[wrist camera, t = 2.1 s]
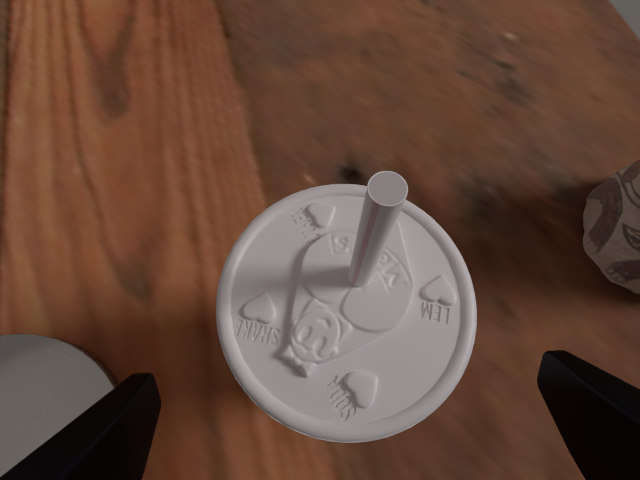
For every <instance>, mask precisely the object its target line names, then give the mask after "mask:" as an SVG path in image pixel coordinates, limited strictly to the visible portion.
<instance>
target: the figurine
mask: <svg viewBox="0 0 640 480" xmlns="http://www.w3.org/2000/svg"><path fill="white" fill-rule="evenodd" d="M583 227H584V231H585V232H584V235H583V246H584V251H585V252H586V254H587V255H588V256H589V257H590V258H591V259H592V260H593V261H594V262H595V263H596V265H597V266H598V267H599V268H600V270H601V272H602V273H603V274H604V275H605V276H606V277H607V279H608V280H609V281H610V282H613V283H615V284H618V285H620V286H623V287H625V288H627V289H629V290H631V291H632V292H634V293H637V294H640V160H638V161H636V162H634V163H632V164H630V165H629V166H627V167H625V168H623V169H621V170H620V171H618V172H617V173H615V174H613V175H612V176H610V177H609V178H608V179H606V180H605V181H603V182H602V183H600V184H599V185H598V186H597V187H596V188H595V189H594V190H592V192H591V193H590V195H589V196H588V197H587V199H586V206H585V209H584V212H583Z"/></svg>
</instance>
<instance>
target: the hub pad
mask: <svg viewBox="0 0 640 480" xmlns="http://www.w3.org/2000/svg"><path fill="white" fill-rule="evenodd" d="M118 385H119V384H118V382H117V380H116V379H115V377H114V376H113V374H112V373H111V372H110V371H109V370H108V369H107V367H106V366H105V365H104V364H103V363H102V362H101V361H100V360H98V359H97V358H96V357H95V356H93V355H92V354H91V353H89V352H88V351H86V350H84V349H82V348H81V347H79V346H77V345H74V344H72V343H69V342H66V341H63V340H59V339H54V338H50V337H45V336H40V335H29V334H13V335H2V336H0V477H1V476H2V475H3V474H5V473H6V472H7V471H9V470H10V469H11V468H12V467H14V466H15V465H16V464H18V463H19V462H20V461H21V460H23V459H24V458H25V457H27V456H28V455H29V454H30V453H32V452H33V451H34V450H36V449H37V448H38V447H39V446H41V445H42V444H43V443H45V442H46V441H47V440H48V439H50V438H51V437H52V436H54V435H55V434H56V433H57V432H59V431H60V430H61V429H62V428H64V427H65V426H66V425H68V424H69V423H70V422H71V421H73V420H74V419H75V418H77V417H78V416H79V415H80V414H82V413H83V412H84V411H86V410H87V409H88V408H89V407H91V406H92V405H93V404H95V403H96V402H97V401H98V400H100V399H101V398H102V397H104V396H105V395H106V394H107V393H109V392H110V391H111V390H113V389H114V388H115V387H116V386H118Z"/></svg>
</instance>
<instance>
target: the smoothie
mask: <svg viewBox="0 0 640 480" xmlns="http://www.w3.org/2000/svg"><path fill="white" fill-rule="evenodd" d="M407 193H408V186H407V183H406V181H405V180H404V179H403V177H402V176H400V175H399V174H397V173H395V172H391V171H382V172H379V173H376V174H375V175H373V176H372V177H371V179H370V180H369V182H368V186H362V185H353V184H333V185H324V186H318V187H313V188H310V189H306V190H303V191H300V192H297V193H294V194H292V195H290V196H288V197H286V198H284V199H282V200H280V201H278V202H277V203H275V204H273V205H272V206H270V207H269V208H268V209H266V210H265V211H263V212H262V213H261V214H260V215H259V216H258V217H256V218H255V219H254V220H253V221H252V222H251V223H250V224H249V225H248V227H247V228H246V229H245V230H244V231H243V233H242V234H241V235H240V237H239V238H238V240H237V241H236V243H235V244H234V246H233V248H232V249H231V251H230V253H229V255H228V257H227V260H226V262H225V264H224V267H223V270H222V273H221V276H220V280H219V285H218V290H217V299H216V321H217V330H218V335H219V340H220V344H221V347H222V350H223V354H224V356H225V359H226V361H227V363H228V366H229V368H230V370H231V372H232V373H233V375H234V377H235V379H236V380H237V382H238V383H239V385H240V386H241V387H242V389H243V390H244V392H245V393H246V394H247V395H248V396H249V397H250V398H251V400H252V401H253V402H254V403H255V404H256V405H257V406H258V407H260V408H261V409H262V410H263V411H264V412H265V413H267V414H268V415H269V416H271V417H272V418H273V419H275V420H276V421H278V422H279V423H281V424H283V425H284V426H286V427H288V428H290V429H292V430H294V431H297V432H299V433H301V434H304V435H307V436H310V437H313V438H317V439H322V440H326V441H333V442H343V443H349V442H366V441H373V440H378V439H382V438H386V437H389V436H392V435H395V434H397V433H400V432H402V431H404V430H406V429H408V428H410V427H412V426H414V425H416V424H417V423H419V422H420V421H422V420H424V419H425V418H426V417H427V416H429V415H430V414H431V413H432V412H434V411H435V410H436V409H437V408H438V407H439V406H440V405H441V404H442V403H443V402H444V401H445V400H446V399H447V397H448V396H449V395H450V394H451V392H452V391H453V390H454V388H455V387H456V385H457V384H458V382H459V380H460V379H461V377H462V375H463V373H464V371H465V369H466V367H467V364H468V362H469V359H470V356H471V353H472V349H473V345H474V341H475V334H476V325H477V309H476V299H475V293H474V288H473V284H472V280H471V277H470V274H469V271H468V269H467V266H466V264H465V262H464V260H463V258H462V255H461V254H460V252H459V250H458V249H457V247H456V245H455V244H454V242H453V241H452V240H451V238H450V237H449V235H448V234H447V233H446V232H445V231H444V230H443V228H442V227H441V226H440V225H439V224H438V223H437V222H436V221H435V220H434V219H433V218H432V217H430V216H429V215H428V214H427V213H425V212H424V211H423V210H421V209H420V208H418V207H417V206H415V205H414V204H412V203H411V202H409V201H407V200H405V199H406V196H407Z"/></svg>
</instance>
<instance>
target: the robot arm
mask: <svg viewBox="0 0 640 480" xmlns="http://www.w3.org/2000/svg"><path fill="white" fill-rule="evenodd" d="M537 383H538V388H539V390H540V392H541V394H542V396H543V398H544V401H545V403H546V405H547V407H548V409H549V411H550V413H551V415H552V417H553V419H554V421H555V423H556V425H557V427H558V430H559V432H560V434H561V436H562V438H563V440H564V442H565V444H566V446H567V448H568V450H569V452H570V454H571V455H572V457H573V459H574V461H575V462H576V464H577V466H578V468H579V469H580V471H581V473H582V474H583V476H584V478H585V479H586V480H640V389H638V388H636V387H634V386H632V385H630V384H628V383H626V382H624V381H623V380H621V379H619V378H617V377H615V376H613V375H611V374H609V373H607V372H605V371H603V370H601V369H600V368H598V367H596V366H594V365H592V364H590V363H588V362H586V361H584V360H582V359H580V358H578V357H576V356H575V355H573V354H571V353H569V352H567V351H564V350H556V351H547V352H545V353H544V354H543V357H542V361H541V365H540V369H539V373H538V377H537ZM160 409H161V399H160V395H159V391H158V388H157V384H156V380H155V377H154V375H153V374H152V373H135V374H132V375H131V376H129V377H128V378H127V379H125V380H124V381H123V382H122V383H120V384H119V385H118V386H116V387H115V388H114V389H113V390H111V391H110V392H109V393H107V394H106V395H105V396H104V397H102V398H101V399H100V400H98V401H97V402H96V403H95V404H93V405H92V406H91V407H89V408H88V409H87V410H86V411H84V412H83V413H82V414H80V415H79V416H78V417H77V418H75V419H74V420H73V421H71V422H70V423H69V424H68V425H66V426H65V427H64V428H62V429H61V430H60V431H59V432H57V433H56V434H55V435H54V436H52V437H51V438H50V439H48V440H47V441H46V442H45V443H43V444H42V445H41V446H39V447H38V448H37V449H36V450H34V451H33V452H32V453H30V454H29V455H28V456H27V457H25V458H24V459H23V460H21V461H20V462H19V463H18V464H16V465H15V466H14V467H12V468H11V469H10V470H9V471H7V472H6V473H5V474H3V475H2V476H1V477H0V480H142V477H143V474H144V470H145V467H146V463H147V459H148V455H149V451H150V447H151V444H152V440H153V436H154V432H155V428H156V425H157V421H158V417H159V413H160Z"/></svg>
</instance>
